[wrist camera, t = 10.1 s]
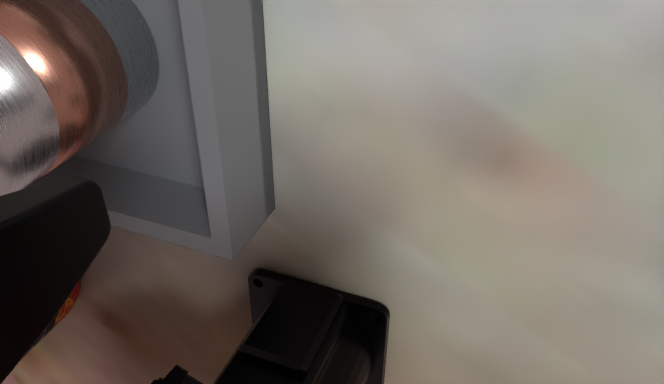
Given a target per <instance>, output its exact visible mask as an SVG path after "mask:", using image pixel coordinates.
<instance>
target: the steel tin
mask: <svg viewBox="0 0 664 384" xmlns="http://www.w3.org/2000/svg"><path fill="white" fill-rule="evenodd" d="M158 78H159V57H158V52H157V47H156V44H155V41H154V38H153V35H152V33H151V30H150V28H149V26H148V24H147V22H146V20H145V18H144V17H143V15H142V14H141V12H140V11H139V9H138V8H137V6H136V5H135V4H134V3H133V1H132V0H0V196H2V195H5V194H8V193H12V192H15V191H19V190H21V189H23V188H24V187H26V186H27V185H28V184H30V183H31V182H33V181H34V180H36V179H37V178H39V177H41V176H44V175H45V174H47V173H49V172H50V171H52V170H53V169H55V168H56V167H57V166H59V165H60V164H62V163H63V162H65V161H66V160H68V159H69V158H71V157H72V156H73V155H75V154H76V153H78V152H79V151H81V150H82V149H84V148H85V147H86V146H88V145H89V144H91V143H92V142H94V141H95V140H97V139H98V138H99V137H101V136H102V135H104V134H105V133H107V132H108V131H110V130H111V129H113V128H114V127H115V126H116V125H117V124H118V123H119V122H120V121H122V120H123V119H125V118H126V117H127V116H129V115H130V114H132V113H133V112H135V111H136V110H138V109H139V108H141V107H142V106H143V105H145V104H146V103H147V102H148V101H149V100H150V98H151V97H152V96H153V94H154V92H155V90H156V87H157V83H158Z"/></svg>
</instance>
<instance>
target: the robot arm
mask: <svg viewBox="0 0 664 384" xmlns="http://www.w3.org/2000/svg"><path fill="white" fill-rule="evenodd" d="M110 229H111V223H110V218H109V214H108V210H107V207H106V203H105V199H104V195H103V191H102V188H101V186H100V185H99V183H98V182H96V181H95V180H92V179H88V178H85V177H81V176H76V175H70V176H66V177H63V178H59V179H56V180H52V181H49V182H46V183H42V184H39V185H36V186H32V187H29V188H25V189H22V190H19V191H15V192H12V193H8V194H5V195H2V196H0V384H1V383H2V382H3V380H5V378H6V377H7V376H8V375H9V373H10V372H11V371H12V370H13V369H14V367H15V366H16V365H17V364H18V362H19V361H20V360H21V359H22V358H23V356H24V355H25V354H26V353H27V351H28V350H29V349H30V348H31V346H32V345H33V344H34V343H35V342H36V340H37V339H38V338H39V337H40V335H41V334H42V333H43V332H44V331H45V329H46V328H47V327H48V325H49V324H50V323H51V322H52V320H53V319H54V318H55V316H56V315H57V313H58V312H59V310H60V309H61V308H62V306H63V305H64V303H65V302H66V300H67V299H68V297H69V296H70V294H71V293H72V291H73V290H74V288H75V287H76V285H77V284H78V282H79V281H80V279H81V278H82V276H83V275H84V273H85V272H86V270H87V269H88V267H89V266H90V264H91V263H92V261H93V260H94V258H95V257H96V255H97V254H98V252H99V251H100V249H101V248H102V246H103V245H104V243H105V242H106V240H107V239H108V236H109V234H110ZM260 280H261V281H260ZM248 283H249V293H250V303H251V313H252V323H253V326H252V327H251V328H250V330H249V331H248V333H247V334H246V336H245V337H244V339H243V340H242V342H241V343H240V345H239V346H238V348H237V349H236V351H235V352H234V354H233V355H232V357H231V358H230V360H229V361H228V363H227V364H226V365H225V367H224V368H223V370H222V371H221V373H220V374H219V376H218V377H217V379H216V380H215V382H214V383H213V384H384V376H385V364H386V353H387V341H388V329H389V318H390V313H389V310H388V309H387V307H386V306H384V305H383V304H381V303H378V302H374V301H371V300H367V299H364V298H360V297H357V296H353V295H350V294H346V293H343V292H339V291H336V290H332V289H329V288H325V287H322V286H318V285H315V284H311V283H308V282H304V281H301V280H297V279H294V278H291V277H287V276H284V275H280V274H277V273H273V272H270V271H266V270H263V269H255V270H254V271H253V272H252V274H251V275H250V276H249V278H248ZM375 313H376V314H378V315H379V316H378V315H376V314H375ZM151 384H203V383H201V382H200V381H198V380H196V379H195V378H193V377H191V376H190V375H188V371H186V370H185V369H183V368H181V367H180V366H178V365H176V366H175V367H174V368H173V369H172V370H171V371H170V372H169V373H168V375H167V376H166V377H165V378H164V379H162V378H159V379H158V380H154V381H153V382H152V383H151Z"/></svg>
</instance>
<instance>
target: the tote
mask: <svg viewBox="0 0 664 384" xmlns="http://www.w3.org/2000/svg"><path fill="white" fill-rule="evenodd" d="M132 1H133V3H134V4H135V5H136V6H137V8H138V9H139V11H140V12H141V14H142V15H143V17H144V18H145V20H146V22H147V24H148V26H149V28H150V30H151V33H152V35H153V38H154V41H155V44H156V47H157V52H158V57H159V78H158V83H157V87H156V90H155V92H154V94H153V96H152V97H151V98H150V100H149V101H148V102H147V103H146V104H145V105H143V106H142V107H141V108H139V109H138V110H136V111H135V112H133V113H132V114H130V115H129V116H127V117H126V118H125V119H123V120H122V121H120V122H119V123H118V124H117V125H116V126H115V127H114V128H113V129H111V130H110V131H108V132H107V133H105V134H104V135H102V136H101V137H99V138H98V139H97V140H95V141H94V142H92V143H91V144H89V145H88V146H86V147H85V148H84V149H82V150H81V151H79V152H78V153H76V154H75V155H73V156H72V157H71V158H69V159H68V160H66V161H65V162H63V163H62V164H60V165H59V166H57V167H56V168H55V169H53V170H52V171H50V172H49V173H47V174H45V175H44V176H41V177H39V178H37V179H36V180H34V181H33V182H31V183H30V184H28V185H27V186H26V187H24V188H23V189H25V188H29V187H32V186H36V185H39V184H42V183H46V182H49V181H52V180H56V179H59V178H63V177H66V176H70V175H76V176H81V177H85V178H88V179H92V180H95V181H96V182H98V183H99V185H100V186H101V188H102V191H103V195H104V199H105V203H106V207H107V210H108V214H109V218H110V223H111V226H113V227H116V228H120V229H123V230H127V231H130V232H134V233H137V234H141V235H144V236H148V237H151V238H155V239H158V240H162V241H165V242H169V243H172V244H176V245H179V246H183V247H186V248H190V249H193V250H197V251H200V252H204V253H207V254H211V255H214V256H218V257H221V258H225V259H228V260H232V261H233V260H234V259H235V257H236V256H237V255H238V254H239V252H240V251H241V250H242V249H243V247H244V246H245V245H246V244H247V242H248V241H249V240H250V239H251V237H252V236H253V235H254V234H255V232H256V231H257V230H258V229H259V228H260V226H261V225H262V224H263V223H264V221H265V220H266V219H267V218H268V216H269V215H270V214H271V213H272V211H273V210H274V209H275V200H274V184H273V167H272V151H271V134H270V118H269V101H268V85H267V68H266V51H265V35H264V18H263V2H262V0H132ZM21 190H22V189H21Z"/></svg>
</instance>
